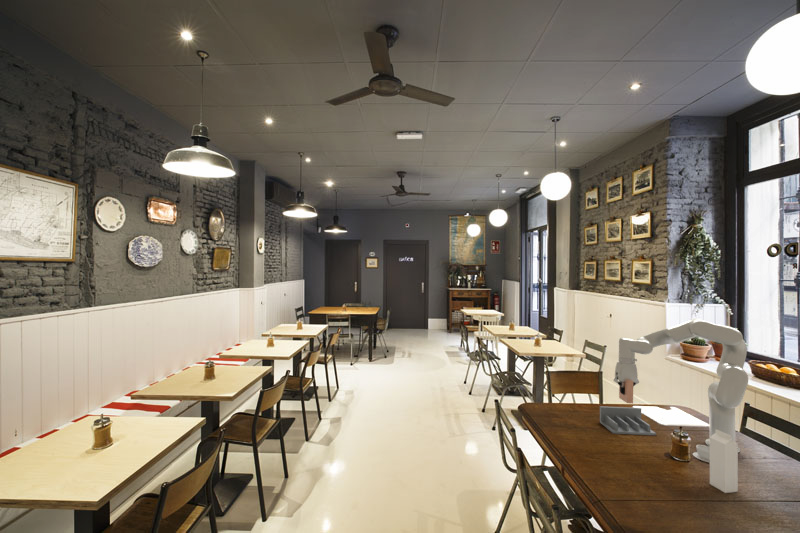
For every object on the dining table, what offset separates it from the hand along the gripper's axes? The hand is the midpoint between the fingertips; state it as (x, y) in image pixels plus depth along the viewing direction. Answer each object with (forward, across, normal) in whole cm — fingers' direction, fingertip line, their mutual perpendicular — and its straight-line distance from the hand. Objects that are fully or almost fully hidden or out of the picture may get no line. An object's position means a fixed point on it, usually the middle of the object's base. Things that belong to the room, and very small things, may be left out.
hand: (626, 393), depth 194 cm
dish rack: (+19, 0, 0) cm, 19 cm away
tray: (+20, -36, -21) cm, 46 cm away
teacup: (+19, -20, +29) cm, 40 cm away
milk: (+19, -8, +53) cm, 57 cm away
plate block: (+4, 0, 0) cm, 4 cm away
